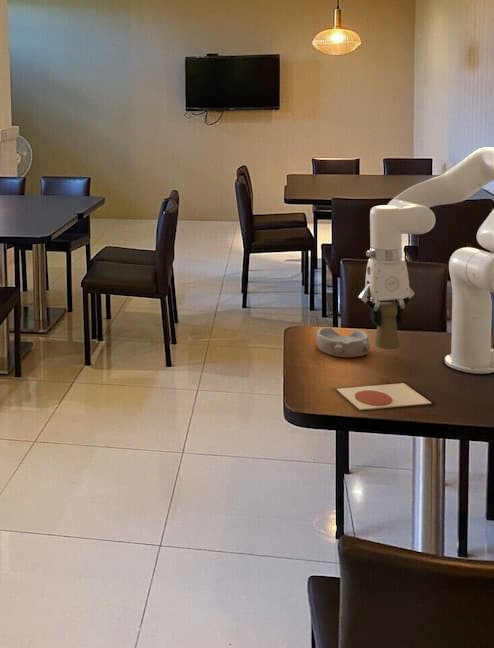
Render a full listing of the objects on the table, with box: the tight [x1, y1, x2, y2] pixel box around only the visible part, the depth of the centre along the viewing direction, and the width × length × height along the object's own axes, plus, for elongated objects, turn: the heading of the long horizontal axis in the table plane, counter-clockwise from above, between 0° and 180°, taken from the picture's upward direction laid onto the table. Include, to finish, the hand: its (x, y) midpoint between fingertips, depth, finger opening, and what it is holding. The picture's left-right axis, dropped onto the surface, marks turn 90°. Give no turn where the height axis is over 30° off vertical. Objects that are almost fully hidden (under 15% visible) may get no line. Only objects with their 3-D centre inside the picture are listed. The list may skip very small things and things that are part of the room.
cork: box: [374, 301, 401, 350], centre depth 189 cm, size 6×6×11 cm
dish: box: [316, 326, 371, 358], centre depth 208 cm, size 14×14×5 cm
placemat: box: [336, 382, 433, 411], centre depth 177 cm, size 18×12×1 cm, turn 99°
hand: (387, 322), depth 189 cm, fingers closed on cork, 5 cm apart
